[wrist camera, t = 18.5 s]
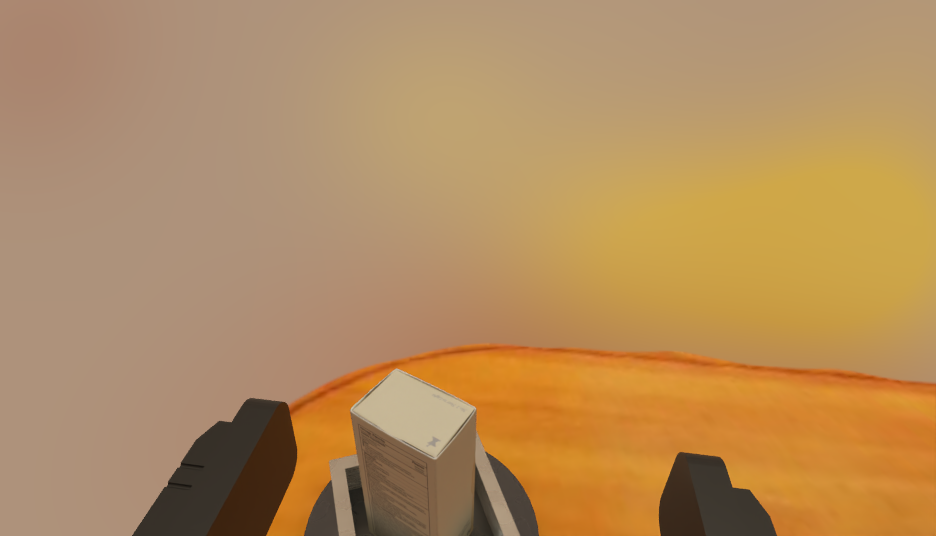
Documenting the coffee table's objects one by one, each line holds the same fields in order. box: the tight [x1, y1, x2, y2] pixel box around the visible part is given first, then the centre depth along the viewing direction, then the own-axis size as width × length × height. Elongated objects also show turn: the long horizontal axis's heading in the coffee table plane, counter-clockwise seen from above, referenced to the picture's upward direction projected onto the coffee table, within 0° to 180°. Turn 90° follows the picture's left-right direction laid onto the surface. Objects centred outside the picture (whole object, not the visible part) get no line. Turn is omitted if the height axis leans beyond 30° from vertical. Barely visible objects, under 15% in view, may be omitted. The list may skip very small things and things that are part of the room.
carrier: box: [304, 431, 539, 536], centre depth 38 cm, size 16×16×4 cm
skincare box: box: [350, 369, 476, 536], centre depth 34 cm, size 6×4×12 cm
